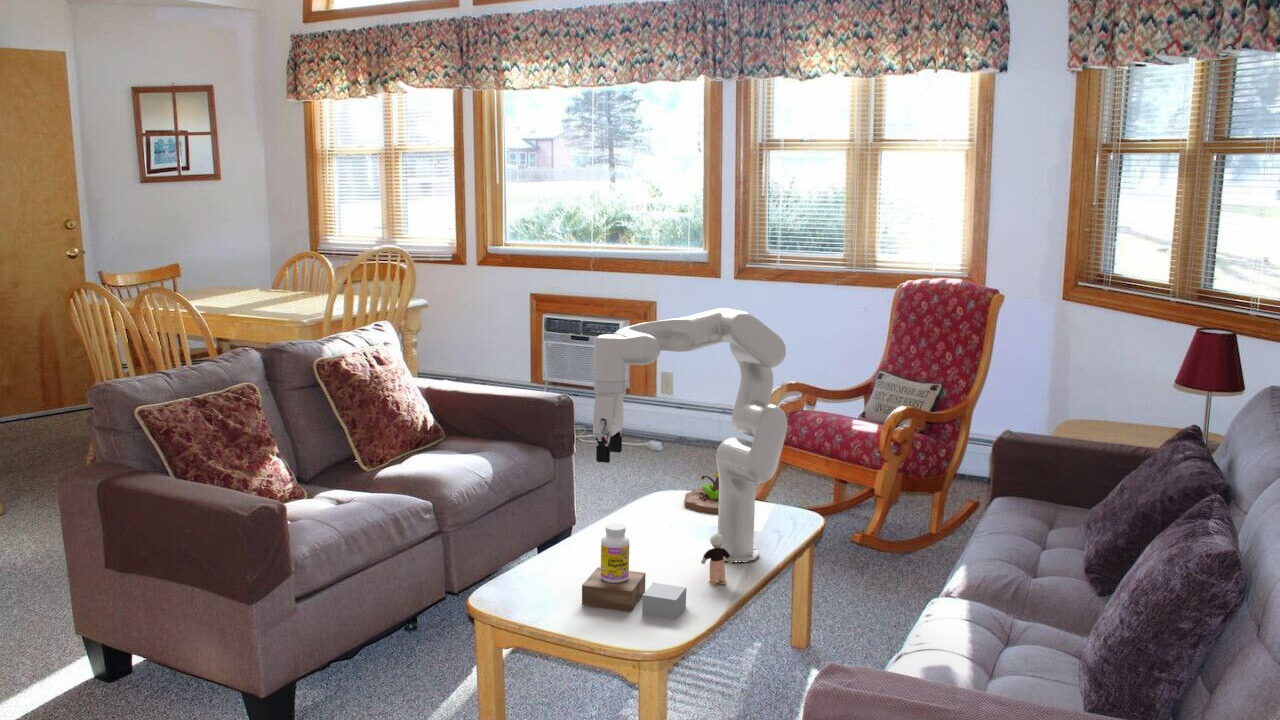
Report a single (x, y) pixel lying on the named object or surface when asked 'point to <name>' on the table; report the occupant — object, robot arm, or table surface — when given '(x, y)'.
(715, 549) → the grandmother figurine
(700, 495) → the plant
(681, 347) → the robot arm
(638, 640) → the table surface
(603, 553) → the supplement bottle
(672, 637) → the table surface
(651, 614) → the grey block
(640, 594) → the walnut block
